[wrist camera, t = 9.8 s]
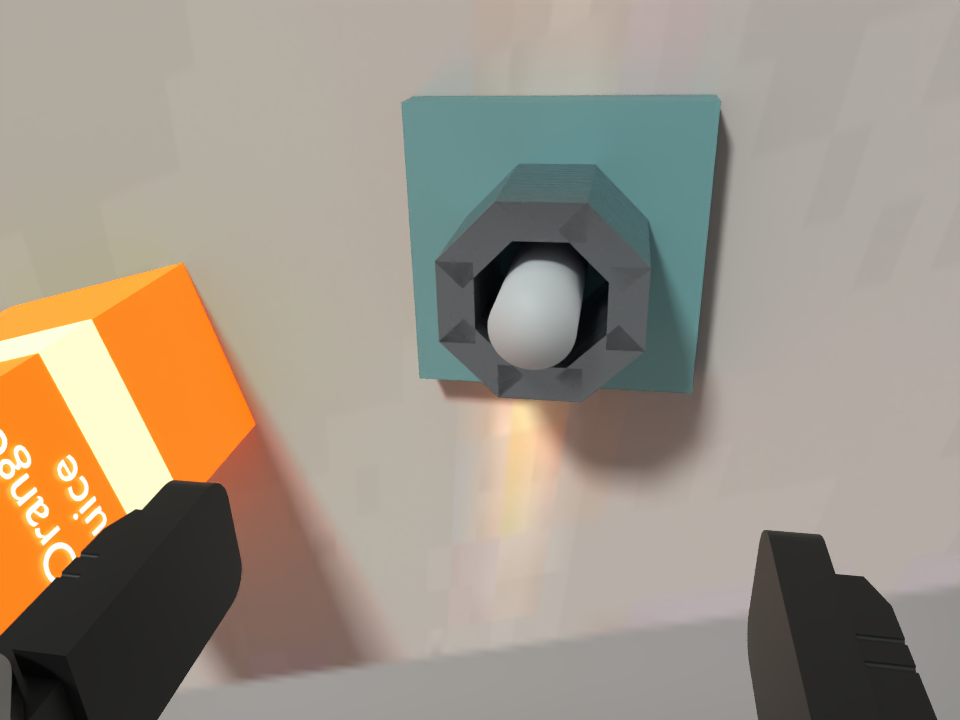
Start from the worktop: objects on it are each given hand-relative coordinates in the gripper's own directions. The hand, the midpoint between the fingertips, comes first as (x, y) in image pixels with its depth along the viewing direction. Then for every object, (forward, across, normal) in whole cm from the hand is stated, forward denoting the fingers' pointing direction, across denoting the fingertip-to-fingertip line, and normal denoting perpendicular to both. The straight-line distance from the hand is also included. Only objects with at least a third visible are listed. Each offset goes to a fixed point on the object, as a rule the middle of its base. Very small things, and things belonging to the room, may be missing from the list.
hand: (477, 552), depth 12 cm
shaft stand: (+18, 0, +1) cm, 18 cm away
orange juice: (+18, +18, +7) cm, 27 cm away
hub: (+17, 0, +1) cm, 17 cm away
